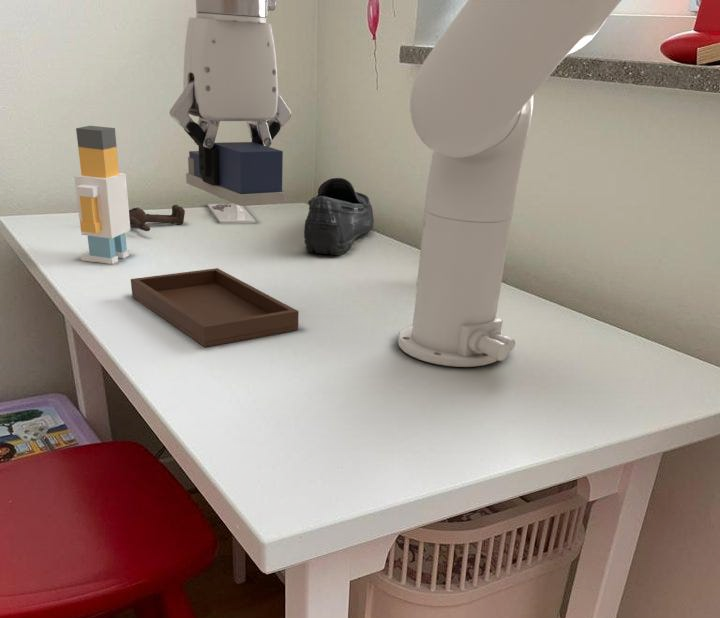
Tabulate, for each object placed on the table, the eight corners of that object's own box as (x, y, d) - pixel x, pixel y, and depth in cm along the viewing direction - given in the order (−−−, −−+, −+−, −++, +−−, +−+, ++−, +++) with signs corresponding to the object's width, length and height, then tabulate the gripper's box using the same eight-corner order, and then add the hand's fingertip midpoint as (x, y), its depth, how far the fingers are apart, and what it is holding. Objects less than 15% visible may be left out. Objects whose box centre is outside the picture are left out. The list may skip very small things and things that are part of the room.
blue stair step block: (239, 206, 87) (239, 152, 84) (186, 183, 96) (184, 134, 93) (285, 203, 90) (286, 151, 87) (229, 181, 99) (228, 134, 96)
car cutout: (255, 223, 142) (255, 198, 140) (220, 223, 140) (219, 198, 138) (240, 206, 155) (240, 182, 152) (207, 206, 153) (206, 182, 150)
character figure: (83, 267, 111) (67, 132, 102) (76, 249, 119) (61, 122, 110) (138, 265, 114) (127, 133, 105) (128, 247, 122) (117, 123, 113)
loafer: (377, 223, 148) (381, 167, 143) (362, 261, 123) (366, 195, 118) (324, 218, 149) (326, 162, 144) (298, 256, 124) (300, 189, 119)
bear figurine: (203, 215, 131) (120, 212, 123) (202, 241, 133) (120, 240, 125) (160, 195, 144) (82, 191, 135) (160, 219, 146) (82, 216, 137)
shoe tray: (298, 330, 94) (298, 310, 93) (204, 347, 87) (204, 327, 86) (218, 285, 108) (217, 267, 107) (132, 297, 101) (130, 278, 100)
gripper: (281, 10, 90) (279, 174, 99) (141, -2, 81) (153, 179, 90) (316, 12, 85) (311, 184, 94) (171, -1, 76) (180, 192, 85)
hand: (234, 180), depth 92 cm, fingers closed on blue stair step block, 5 cm apart
